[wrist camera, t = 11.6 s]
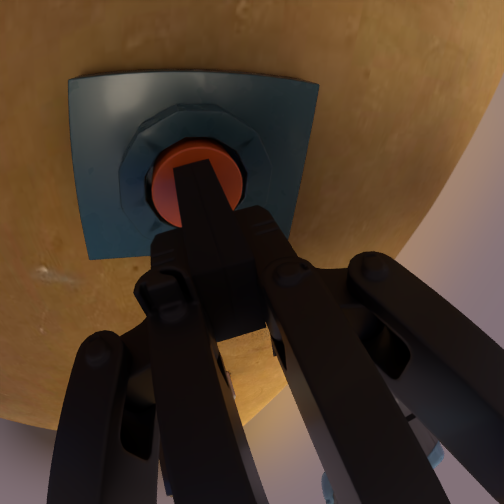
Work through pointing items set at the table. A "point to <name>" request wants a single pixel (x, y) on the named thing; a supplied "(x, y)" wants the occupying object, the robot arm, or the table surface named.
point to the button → (186, 154)
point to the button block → (173, 130)
